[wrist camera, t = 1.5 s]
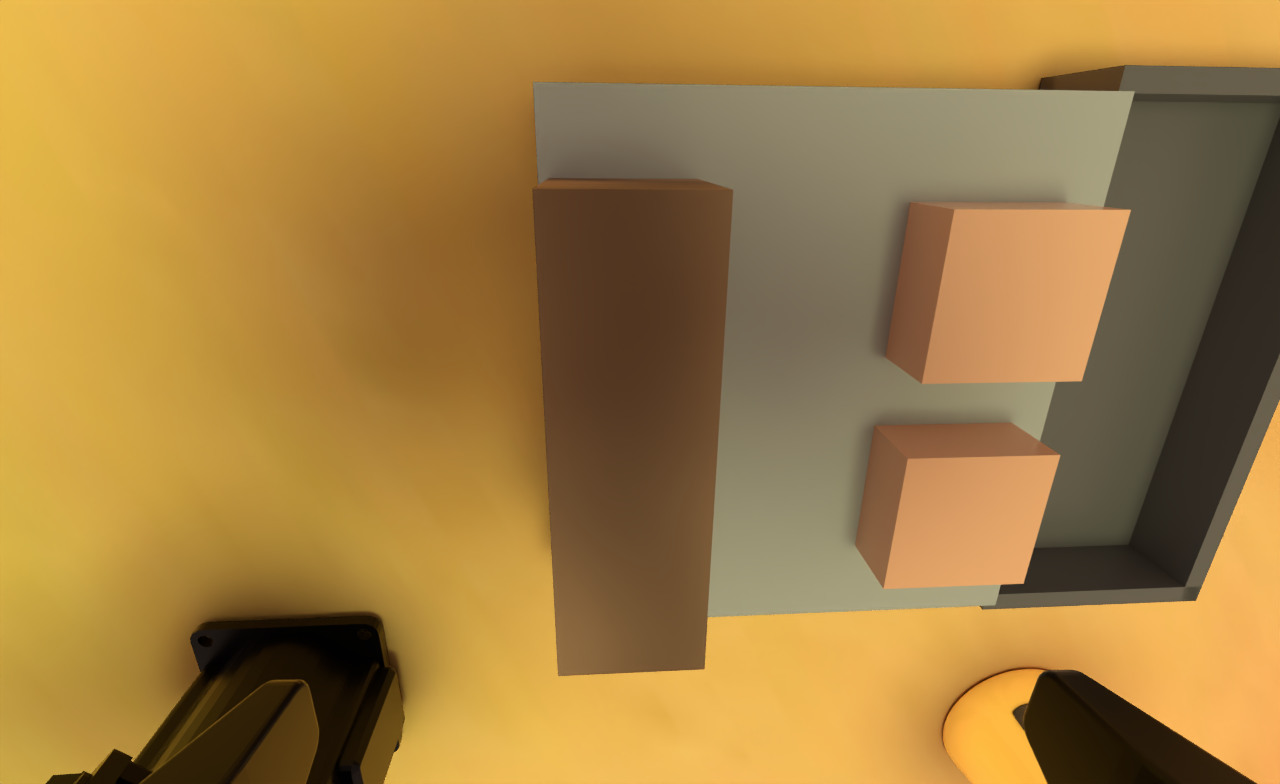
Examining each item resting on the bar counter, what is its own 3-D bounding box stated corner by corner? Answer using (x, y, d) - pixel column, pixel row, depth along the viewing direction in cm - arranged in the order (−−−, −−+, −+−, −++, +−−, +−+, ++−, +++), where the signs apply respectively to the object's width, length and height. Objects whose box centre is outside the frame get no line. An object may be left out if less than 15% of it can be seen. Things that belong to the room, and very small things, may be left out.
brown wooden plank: (565, 569, 18) (558, 675, 15) (548, 178, 14) (532, 189, 11) (682, 565, 19) (704, 669, 15) (698, 179, 15) (733, 189, 11)
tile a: (854, 545, 19) (883, 589, 17) (874, 425, 17) (907, 458, 16) (982, 541, 19) (1023, 583, 17) (1011, 422, 18) (1060, 455, 16)
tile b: (885, 357, 17) (921, 384, 15) (910, 201, 15) (954, 209, 13) (1027, 355, 17) (1081, 381, 15) (1066, 202, 15) (1131, 210, 14)
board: (564, 554, 22) (559, 623, 19) (545, 94, 17) (533, 81, 14) (939, 541, 23) (995, 605, 20) (1036, 101, 18) (1135, 91, 15)
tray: (936, 554, 24) (982, 609, 21) (1041, 78, 18) (1125, 65, 15) (1126, 547, 24) (1195, 600, 21) (1290, 82, 18) (1416, 70, 15)
